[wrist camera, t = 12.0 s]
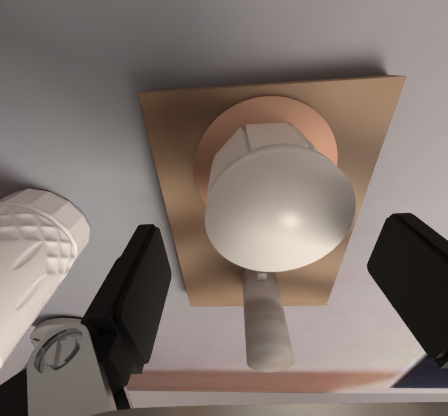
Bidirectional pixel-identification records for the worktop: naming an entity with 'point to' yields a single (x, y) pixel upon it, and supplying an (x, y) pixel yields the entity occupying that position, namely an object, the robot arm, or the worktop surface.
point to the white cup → (34, 257)
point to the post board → (200, 173)
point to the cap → (276, 200)
